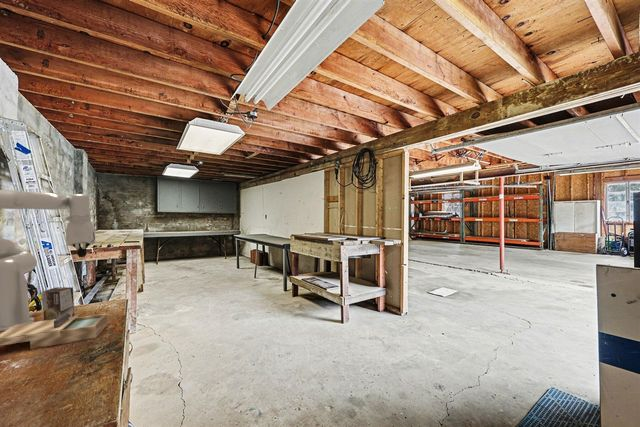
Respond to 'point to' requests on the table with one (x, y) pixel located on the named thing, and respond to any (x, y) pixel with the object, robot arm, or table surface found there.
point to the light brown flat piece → (35, 330)
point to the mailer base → (76, 331)
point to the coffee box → (57, 302)
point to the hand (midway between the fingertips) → (82, 256)
